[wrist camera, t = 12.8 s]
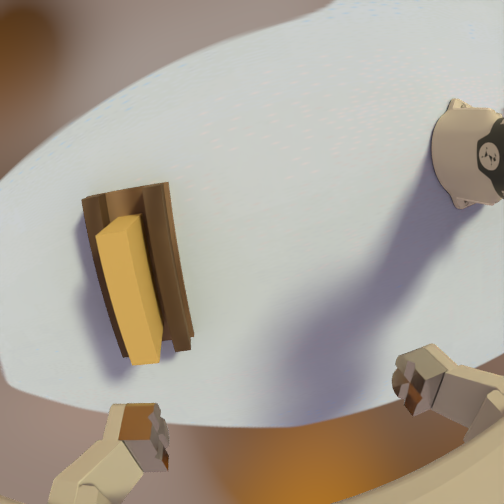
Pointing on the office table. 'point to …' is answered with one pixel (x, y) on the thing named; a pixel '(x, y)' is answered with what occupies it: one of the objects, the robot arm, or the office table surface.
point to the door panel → (132, 287)
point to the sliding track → (160, 250)
